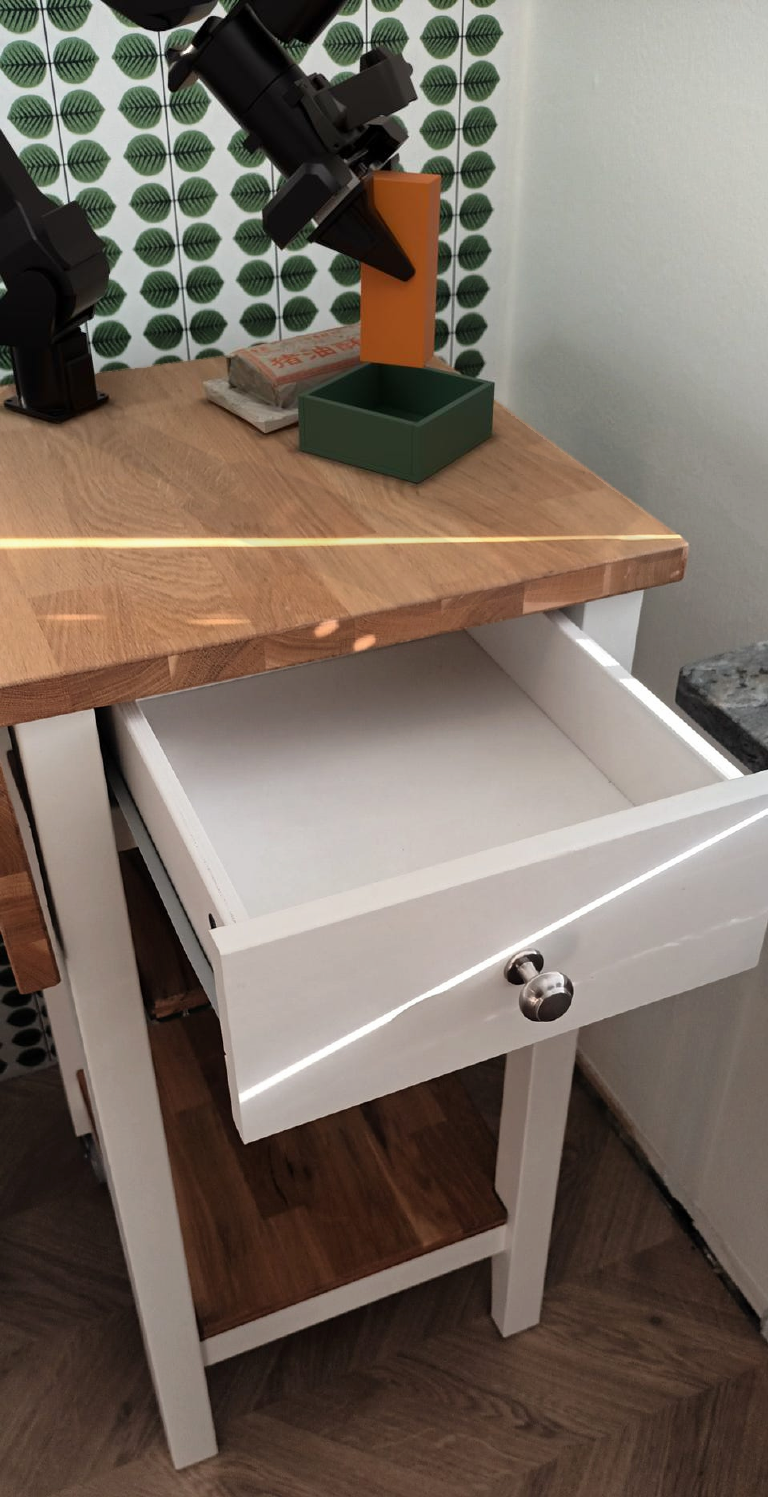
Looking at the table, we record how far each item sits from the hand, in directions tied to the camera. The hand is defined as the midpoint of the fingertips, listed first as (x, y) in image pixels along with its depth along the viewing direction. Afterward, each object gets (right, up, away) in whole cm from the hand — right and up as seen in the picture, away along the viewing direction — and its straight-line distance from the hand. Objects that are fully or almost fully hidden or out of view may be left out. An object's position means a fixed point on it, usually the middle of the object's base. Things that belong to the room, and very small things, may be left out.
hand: (417, 271), depth 92 cm
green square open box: (-1, -11, +8) cm, 14 cm away
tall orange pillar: (-1, -5, +4) cm, 7 cm away
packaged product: (-8, -5, +17) cm, 19 cm away
